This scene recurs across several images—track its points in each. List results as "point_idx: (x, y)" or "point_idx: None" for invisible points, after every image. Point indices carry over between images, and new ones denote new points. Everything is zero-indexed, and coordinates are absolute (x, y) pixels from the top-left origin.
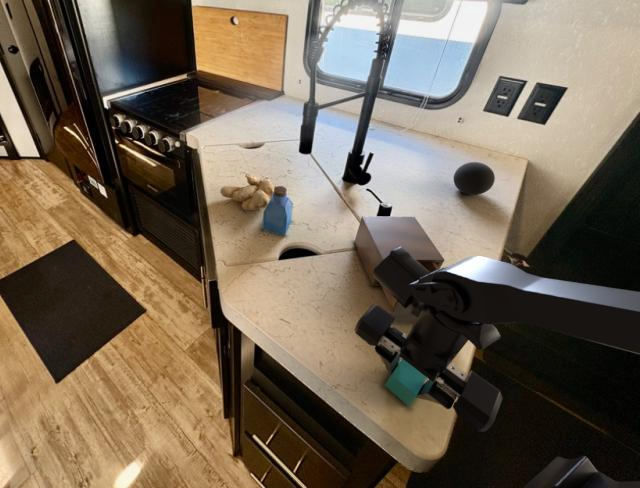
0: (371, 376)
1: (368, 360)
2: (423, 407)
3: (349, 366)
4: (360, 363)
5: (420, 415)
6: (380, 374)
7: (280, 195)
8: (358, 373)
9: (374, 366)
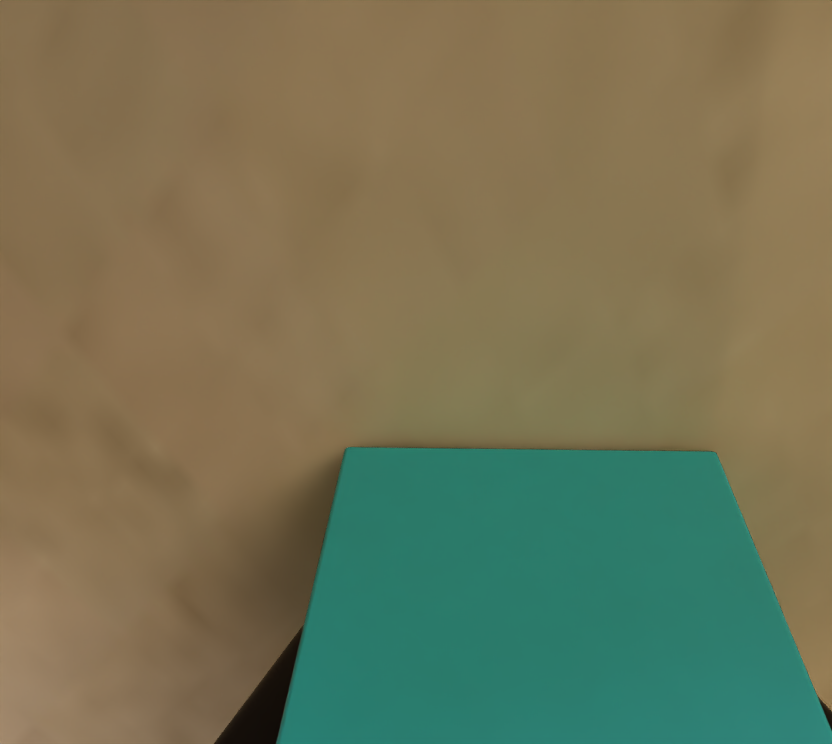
0: (214, 679)
1: (57, 571)
2: (824, 599)
3: (11, 729)
4: (40, 648)
5: (809, 677)
6: (260, 609)
7: None
8: (114, 728)
9: (152, 582)
